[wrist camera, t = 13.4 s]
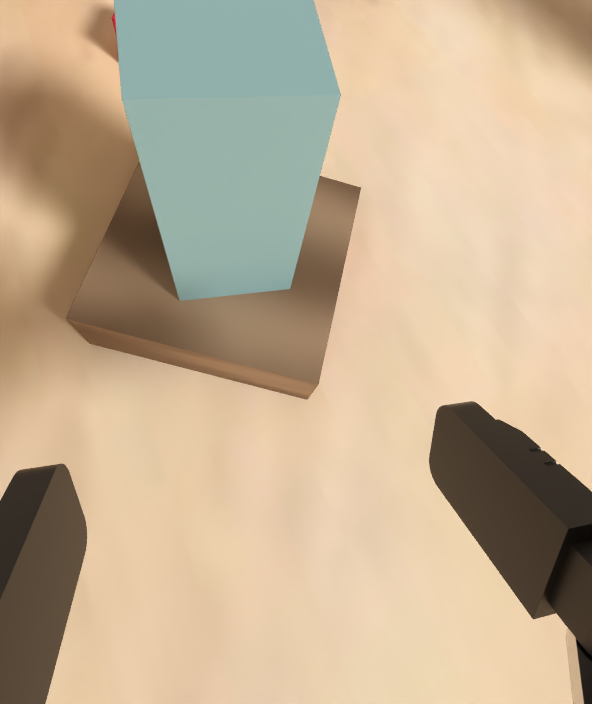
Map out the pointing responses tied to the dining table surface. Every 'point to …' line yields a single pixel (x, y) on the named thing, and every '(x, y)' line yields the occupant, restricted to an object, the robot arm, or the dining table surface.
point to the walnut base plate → (217, 300)
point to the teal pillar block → (228, 132)
